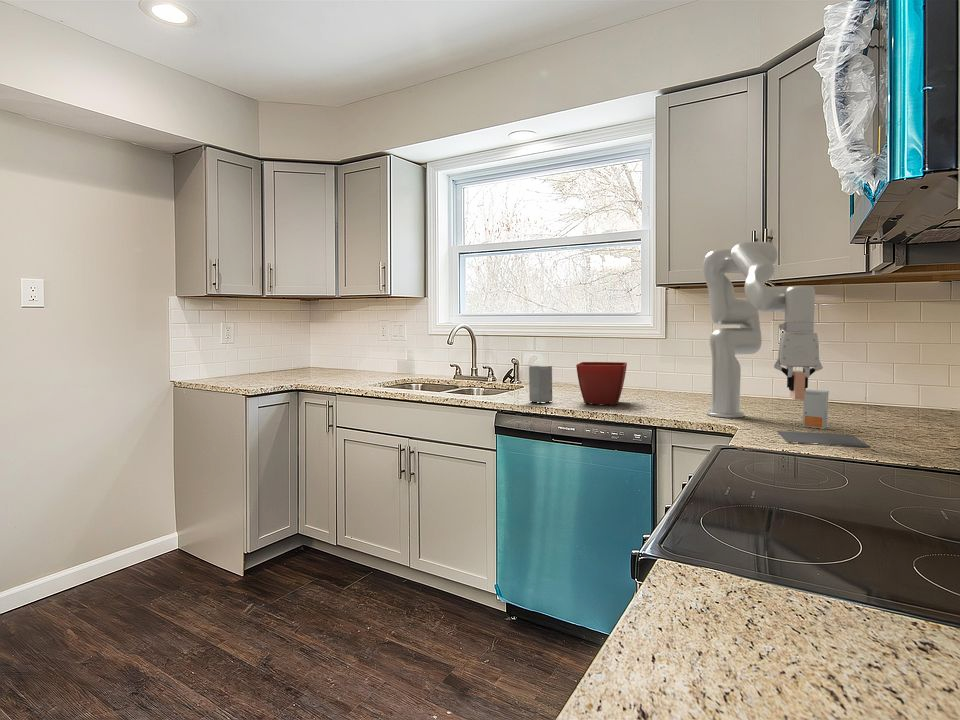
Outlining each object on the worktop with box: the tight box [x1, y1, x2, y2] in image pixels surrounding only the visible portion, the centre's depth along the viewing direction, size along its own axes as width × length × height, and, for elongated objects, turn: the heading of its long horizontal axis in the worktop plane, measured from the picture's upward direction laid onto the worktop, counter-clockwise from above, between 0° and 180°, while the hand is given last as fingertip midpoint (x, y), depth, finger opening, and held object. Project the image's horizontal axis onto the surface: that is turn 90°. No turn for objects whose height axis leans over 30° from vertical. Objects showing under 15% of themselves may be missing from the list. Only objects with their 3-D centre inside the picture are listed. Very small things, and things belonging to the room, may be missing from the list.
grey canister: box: [528, 365, 553, 403], centre depth 239 cm, size 8×7×16 cm
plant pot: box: [575, 361, 628, 406], centre depth 236 cm, size 19×19×17 cm
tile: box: [789, 370, 805, 401], centre depth 166 cm, size 7×2×8 cm, turn 162°
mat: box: [776, 430, 871, 448], centre depth 163 cm, size 16×20×1 cm
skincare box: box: [802, 388, 830, 430], centre depth 181 cm, size 6×4×12 cm
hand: (797, 389), depth 166 cm, fingers closed on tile, 2 cm apart
